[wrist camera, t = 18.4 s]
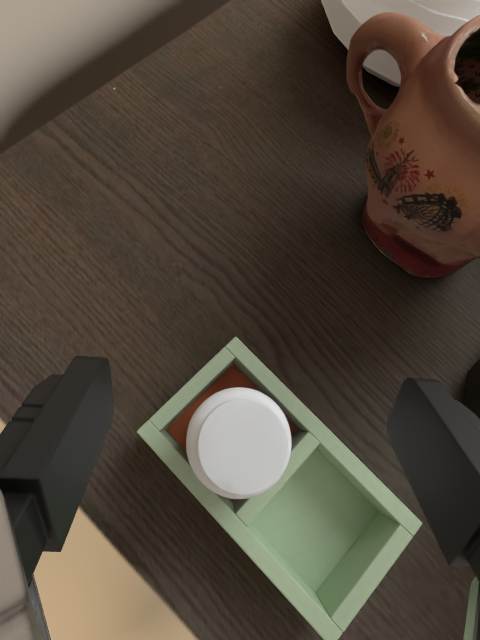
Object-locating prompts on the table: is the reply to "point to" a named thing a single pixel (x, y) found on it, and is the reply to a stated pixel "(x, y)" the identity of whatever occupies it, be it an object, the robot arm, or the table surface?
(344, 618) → the storage box
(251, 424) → the pill bottle
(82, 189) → the table surface
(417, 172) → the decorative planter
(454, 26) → the white vase
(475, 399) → the tankard
